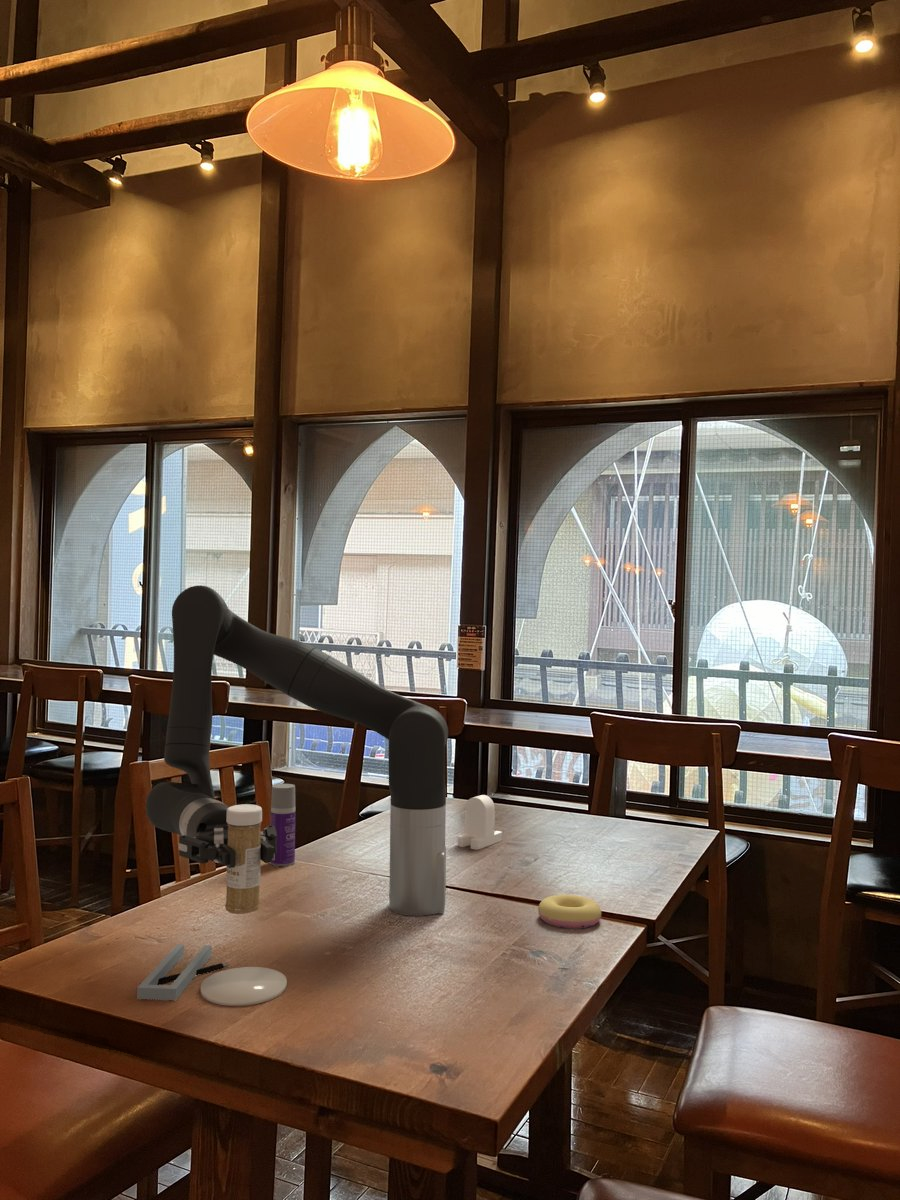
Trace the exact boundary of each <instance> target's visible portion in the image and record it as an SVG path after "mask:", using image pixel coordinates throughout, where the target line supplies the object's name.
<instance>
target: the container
mask: <svg viewBox="0 0 900 1200" xmlns="http://www.w3.org/2000/svg"><path fill="white" fill-rule="evenodd" d="M270 825H272V826H275V829H276V833H277V840H276V848H277V853H275V854H274V859H272V861H271V862H270V863H269V864H270V866H272V865H273V867H276V866H285V867H290V866H289V865H291V866H293V865H295V863H296V861H295V859H296V785H295V784H294V783H293V784H292V783H276V784H273V785H271V802H270ZM292 864H293V865H292Z"/></svg>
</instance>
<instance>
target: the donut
mask: <svg viewBox="0 0 900 1200" xmlns="http://www.w3.org/2000/svg"><path fill="white" fill-rule="evenodd" d="M537 911H538V915H539V918H541V920H542V921H544V922H545V923H546V924H548V925H550V926H554V927H557V928H563V929H585V928H591V927H593V926H595V925H596V924H598V922H599V921H600V920H601V918H602V909H601V907H600V905H599V904H598V903H597V902H596V901H595V900H593V899H591V898H588V897H585V896H582V895H576V894H575V895H574V894H554V895H550V896H548V897H546V898H544V899H542V900H541V902H540V903H539V904H538V908H537Z"/></svg>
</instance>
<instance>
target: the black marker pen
mask: <svg viewBox="0 0 900 1200" xmlns="http://www.w3.org/2000/svg"><path fill="white" fill-rule="evenodd" d="M229 966H230V963H228V962H223V963H222V962H220V963H218V964H217V963H216V964H212V965H209V966H206V967H202V968H201V969H198V970H197V971H196V975H198V974H202V975H204V974H203V973H206V974H208V973H207V972H209V973H212V972H211V971H213V972H215V971H214V970H216V971H219V970H223V969H225V967H229ZM222 968H223V969H222ZM218 969H219V970H218ZM181 973H182V972H180V973H176V974H175V973H174V974H170V975H166V976H165V977H163V978H159V980H158V984H157V985H159V984H161V985H164V984H167V983H170V981H171V982H174V980H176V979H177V978H178V976H179V975H180V974H181ZM198 976H199V975H198ZM141 983H142V982H140V984H141ZM163 983H164V984H163ZM140 984H139V985H140Z"/></svg>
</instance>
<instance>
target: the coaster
mask: <svg viewBox="0 0 900 1200" xmlns="http://www.w3.org/2000/svg"><path fill="white" fill-rule="evenodd" d="M287 981H288V980H287V977H286V975H284V974H283V973H282V972H280V971H278V970H275V969H272V968H269V967H268V968H267V967H263V966H262V967H260V966H243V967H234V968H229V969H225V970H221V971H218V972H216V973H213V974H211V975H209V976H208V977H206V978H205V979H204V980H203V981H202V982H201V984H200V994H201V996H203V997H202V998H203V999H204V998H205V999H204V1000H206V1001H208V1002H210V1003H213V1004H215V1005H219V1006H226V1007H228V1006H229V1007H244V1006H253V1005H257V1004H262V1003H266V1002H268V1001H271V1000H273V999H275V998H278V997H279V996H280V995H281V996H282V994H283V993H284V992H285V991H286V989H287V984H288V983H287Z"/></svg>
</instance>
